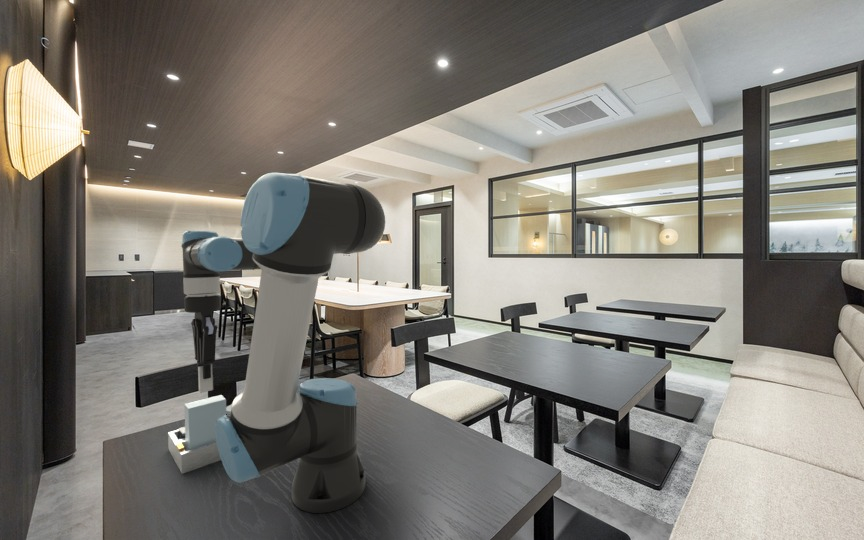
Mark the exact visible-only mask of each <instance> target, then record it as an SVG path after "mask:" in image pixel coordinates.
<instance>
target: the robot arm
mask: <svg viewBox="0 0 864 540" xmlns="http://www.w3.org/2000/svg"><path fill="white" fill-rule="evenodd" d="M244 198H245V199H244V202H243V206H242V210H241V216H240V227H241V230H240V234H241V237H227V236H219V234H218V233H217V232H216V231H212V230H211V231H210V230H186V231H184V232H183V233H182V242H181V248H182V267H183V272H182V273H183V278H182V279H183V282H182V283H183V284H182V285H183V294H184V295H186V296H184V300H183V301H184V305H183V307H184V311H185V312H186V313H189V314H191V313H192V314H194V318H192V321H191V322H190V324H191V328H192V337H193V347H194V360H195V361H196V367H197V372H198V373H197V376H198V377H197V379H198V380H197V381H198V392H199V393H200V394H202V393H205V392H209V391H213V390H214V377H213V376H214V375H213V364H215V363H216V345H217V344H216V343H217V331H218V325H217V324H216V319H215V318H214V317H213V316H214V315H213V312H217V311H219V310H221V308H222V297H221V295H220V294H219V293H220V292H221V285H222V284H223V280H221V273H220V272H229V271H249V270H250V271H252V270H253V271H255V270H261V271H260V272H261V274H260V279H259V286H258V294H257V300H256V306H255V314H254V318H253V319H254V320H253V321H254V322H253V327H252V333H251V341H250V347H249V354H248V362H247V367H246V368H247V369H246V374H245V376H246V377H245V381H244V388H243V389H244V390H242V391H240V392H238V394H237V395H236V396H235V397H234V399H233V401H232V403H231V404H232V410H231V414H229V415H223V416H222V417H220V418H219V419H217V421H216V423H215V436H216V442H217V447H218V451H219V454H220V458H221V460H220V461H221V463H222V466H223V468H224V470H225V472H226V474H227V476H228V477H229V479H231V480H232V481H233V482H235V483H238V484H239V483H240V484H241V483H244V482H245V483H246V482H247V481H250V480H253V479H256V478H257V479H258V478H260V477H261V476H263V475H265V474H267V473H269V472H272V471H274V470H276V469H278V468H280V467H283V466H285V465H287V464H289V463H292V462H293V461H296V460H298V459H299V461H298V463H297V464H298V465H297V467H296V470H295V474H294V477H293V480H292V483H291V501H292V503H293V504H294V505H295V506H296V507H297V509H299V510H301V511H304V512H307V513H313V514H323V513H324V514H325V513H331V512H336V511H339V510H341V509H344V508H346V507H349V506H350V505H351V504H353V503H355V502H356V501H357V500H358V499H359V498H360V497H361V496H362V495H363V493H364V491H365V489H366V471H365V469H364V466H363V463H362V460H361V457H360V455H359V452H358V446H357V444H358V442H357V441H358V438H357V437H358V434H357V433H358V430H357V429H358V428H357V427H358V426H357V425H358V424H357V406H358V400H357V391H356V388H355V386H354V384H352V383H351V382H349V381H347V380H344V379H339V378H333V377H331V378H330V377H328V378H327V377H321V378H320V377H319V378H310V379H306V380H304V381H303V382H301V383H299V382H300V376H301V371H302V365H303V360H304V356H305V349H306V346H307V344H306V343H307V340H308V336H309V335H308V334H309V330H310V324H311V320H312V319H311V318H312V314H313V309H314V303H315V299H316V293H317V289H318V285H319V278H321V277H323V276H325V275H326V274H328V273H329V272H330V271H331V268H332V263H333V257H334V255H336V254H343V255H350V254H356V253H362V252H365V251H368V250H371V249H372V248H373V247H374V246H375V245H376V244H378V243H379V241H380V240H381V238H382V236H383V234H384V231H385V227H386V215H385V211H384V208H383V206H382V204H381V202H380V201H379V199H378V198H377V196H375V195H374V194H373V193H372V192H370V191H369V190H367V189H366V188H364V187H362V186H359V185H357V184H353V183H352V184H351V183H344V182H338V181H332V180H329V179H322V178H317V177H314V176H313V177H312V176H307V175H301V174H297V173H282V172H269V173H265V174H264V175H262V176H260V177H258V178H257V180H256V181H254V183H253V184H252V185H251V186H250V188H249V190H248V192H247V194H246V196H245V197H244Z"/></svg>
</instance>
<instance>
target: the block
mask: <svg viewBox="0 0 864 540" xmlns="http://www.w3.org/2000/svg"><path fill="white" fill-rule="evenodd" d="M183 406H184V407H183V408H184V427H185V441H186V451H188V450H191V449H195V448H198V447H201V446H204V445H207V444H210V443H213V442H216V436H215V423H216V421H217V419H219V418H220V417H222V416H223V415H226V407H227V399H226V398H225V397H224V395H222V394H219V395H215V396H211V397H210V396H209V397H207V398H203V399H199V400H195V401H190V402H186V403H184V405H183Z"/></svg>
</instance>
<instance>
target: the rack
mask: <svg viewBox="0 0 864 540" xmlns="http://www.w3.org/2000/svg"><path fill="white" fill-rule="evenodd" d="M167 436H168V437H167V438H168V439H167V443H168V451H169V453H170V455H171V457H172V458H173V461H174V462H175V464H176V466H177V467H178V469H179V472H180V473H181V475H182V474H185V473H189V472H191V471H194V470H197V469H200V468H203V467H205V466H207V465H211V464H213V463H216V462H217V463H218V462H219V461H221V458H220V454H219V451H218V447H217V442H213V443H210V444H207V445H204V446H201V447H198V448H195V449H191V450H188V451H186V441H185V426H182V427H179V428H178V429H176V430H172V431H168V432H167Z"/></svg>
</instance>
